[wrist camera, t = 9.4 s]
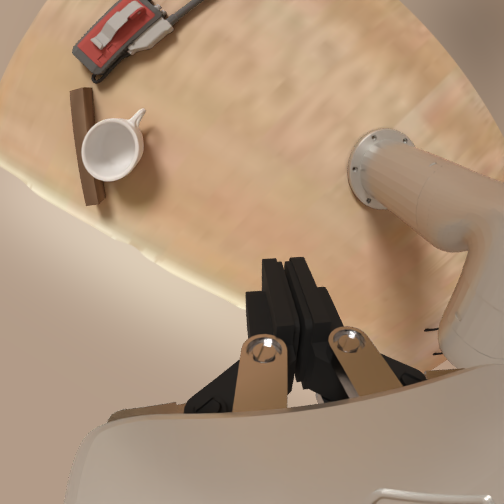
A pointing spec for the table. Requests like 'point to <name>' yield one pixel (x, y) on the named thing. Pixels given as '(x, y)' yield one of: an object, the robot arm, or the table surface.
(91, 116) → the stop bar
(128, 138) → the teacup
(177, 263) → the table surface
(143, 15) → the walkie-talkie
